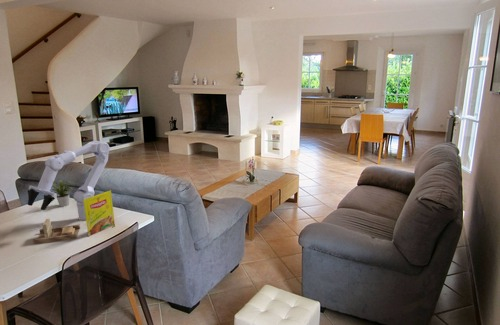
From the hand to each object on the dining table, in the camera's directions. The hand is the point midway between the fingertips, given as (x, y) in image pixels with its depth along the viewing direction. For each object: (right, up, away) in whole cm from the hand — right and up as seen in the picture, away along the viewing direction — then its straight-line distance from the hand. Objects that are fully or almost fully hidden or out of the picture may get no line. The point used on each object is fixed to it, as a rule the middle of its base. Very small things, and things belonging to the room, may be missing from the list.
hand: (36, 207), depth 171 cm
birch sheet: (+6, -14, 0) cm, 16 cm away
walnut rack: (+10, -15, +1) cm, 18 cm away
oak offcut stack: (+15, -13, +2) cm, 20 cm away
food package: (+30, -13, +6) cm, 33 cm away
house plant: (-8, -4, +41) cm, 42 cm away
